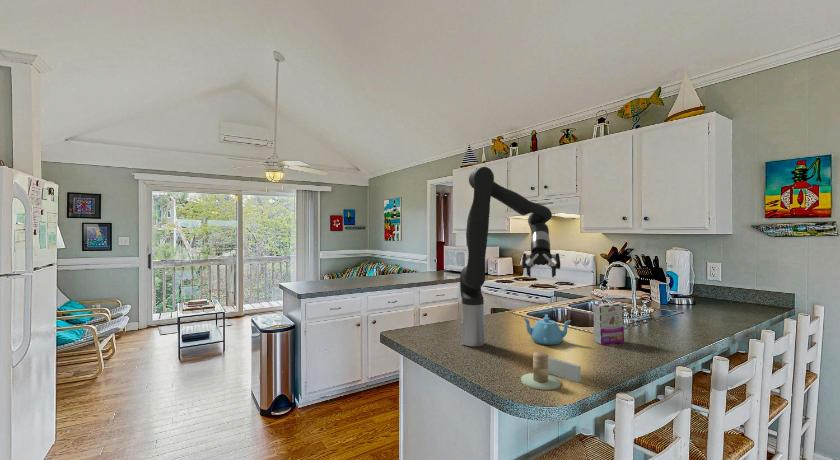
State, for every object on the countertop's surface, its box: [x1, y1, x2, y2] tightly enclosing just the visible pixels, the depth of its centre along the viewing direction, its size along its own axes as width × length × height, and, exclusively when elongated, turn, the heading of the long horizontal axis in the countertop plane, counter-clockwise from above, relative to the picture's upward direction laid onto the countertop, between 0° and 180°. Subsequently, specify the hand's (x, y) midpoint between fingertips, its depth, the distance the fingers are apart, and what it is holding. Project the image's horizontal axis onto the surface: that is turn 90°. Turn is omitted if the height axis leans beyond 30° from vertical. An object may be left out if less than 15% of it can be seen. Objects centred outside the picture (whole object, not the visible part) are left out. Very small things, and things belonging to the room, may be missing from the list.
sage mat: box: [520, 372, 562, 391], centre depth 118 cm, size 12×12×1 cm
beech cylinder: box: [532, 351, 549, 383], centre depth 118 cm, size 4×4×8 cm
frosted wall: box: [548, 356, 582, 383], centre depth 123 cm, size 16×2×5 cm, turn 39°
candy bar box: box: [592, 302, 625, 346], centre depth 158 cm, size 11×5×16 cm, turn 102°
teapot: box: [521, 313, 572, 346], centre depth 161 cm, size 15×15×10 cm
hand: (541, 275), depth 142 cm, fingers open, 8 cm apart
